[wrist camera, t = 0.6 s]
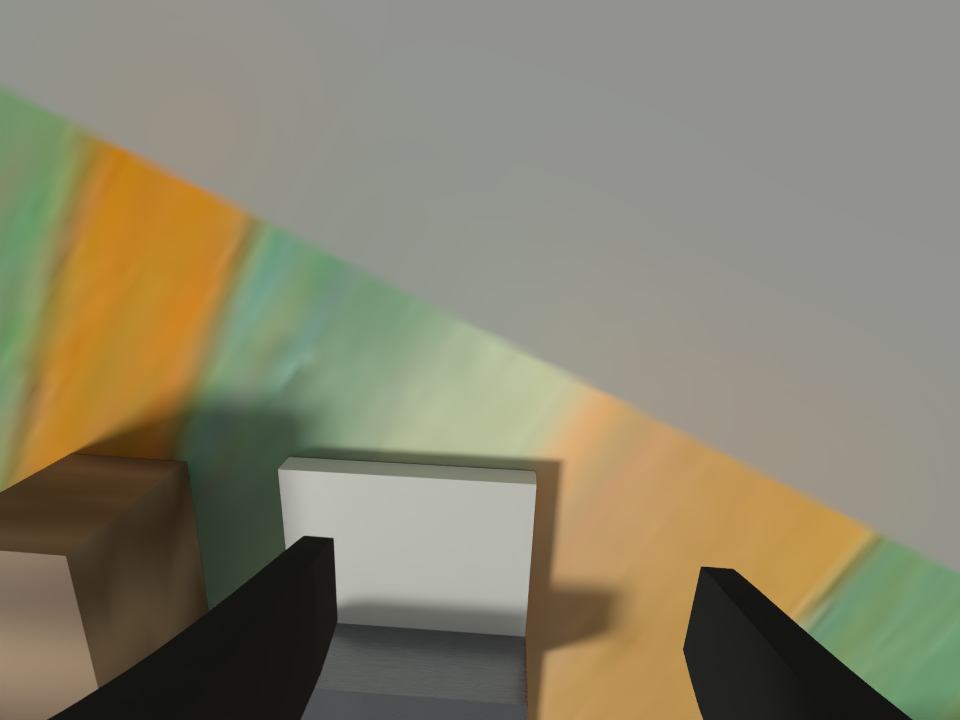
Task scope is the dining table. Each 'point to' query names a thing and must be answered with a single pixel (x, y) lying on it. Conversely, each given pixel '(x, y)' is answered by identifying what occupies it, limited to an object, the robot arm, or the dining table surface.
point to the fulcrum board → (419, 586)
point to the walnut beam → (92, 576)
